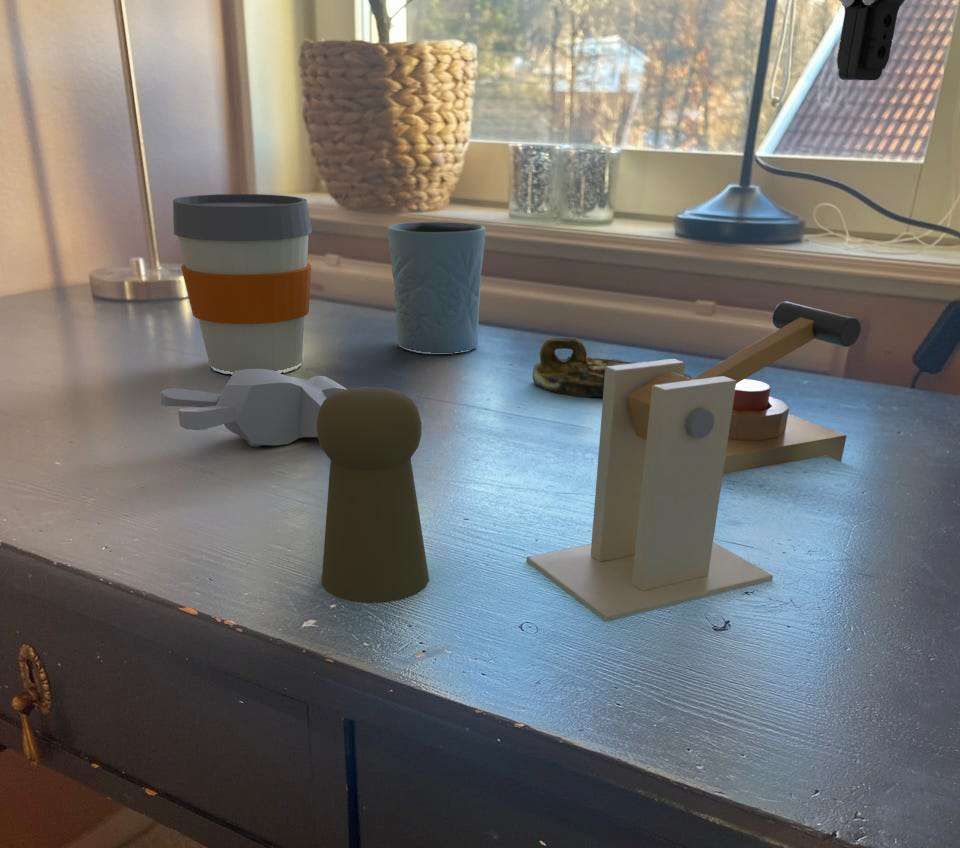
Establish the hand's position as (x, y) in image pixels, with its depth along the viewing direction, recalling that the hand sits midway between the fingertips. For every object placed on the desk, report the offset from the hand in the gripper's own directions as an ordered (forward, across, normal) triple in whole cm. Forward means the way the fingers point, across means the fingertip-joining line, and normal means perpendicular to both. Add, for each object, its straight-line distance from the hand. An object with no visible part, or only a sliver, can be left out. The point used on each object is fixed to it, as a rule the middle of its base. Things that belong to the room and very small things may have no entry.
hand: (858, 79), depth 60 cm
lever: (+15, -12, +17) cm, 25 cm away
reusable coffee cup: (+25, +46, +27) cm, 59 cm away
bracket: (+25, -12, +22) cm, 35 cm away
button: (+21, +4, +2) cm, 22 cm away
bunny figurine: (+25, +22, +33) cm, 47 cm away
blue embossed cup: (+25, +46, +7) cm, 53 cm away
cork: (+25, -6, +36) cm, 44 cm away
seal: (+25, +24, 0) cm, 35 cm away
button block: (+25, +4, +2) cm, 25 cm away
